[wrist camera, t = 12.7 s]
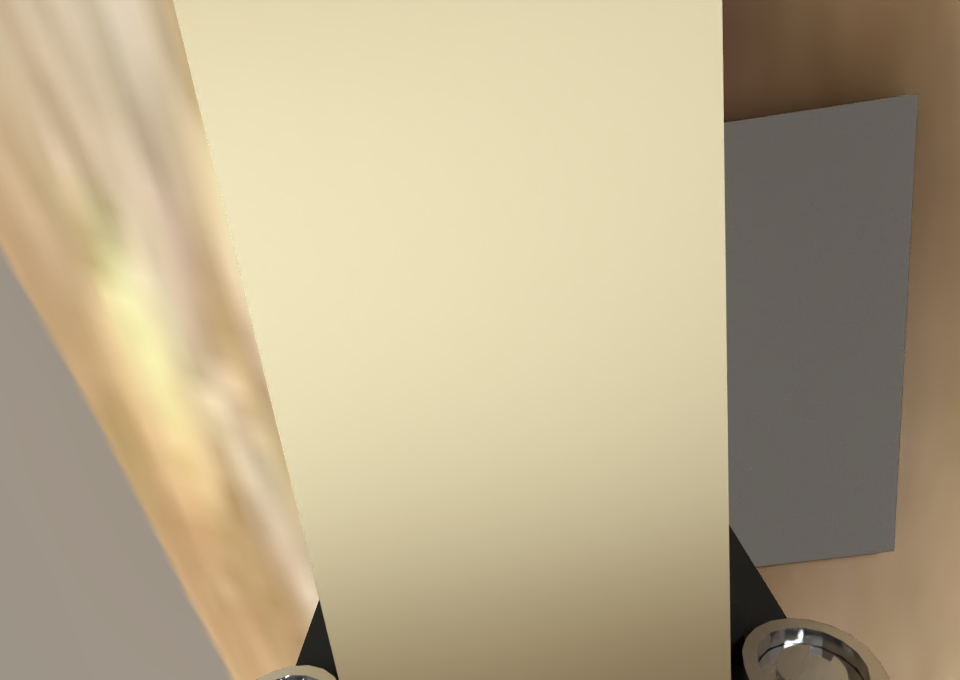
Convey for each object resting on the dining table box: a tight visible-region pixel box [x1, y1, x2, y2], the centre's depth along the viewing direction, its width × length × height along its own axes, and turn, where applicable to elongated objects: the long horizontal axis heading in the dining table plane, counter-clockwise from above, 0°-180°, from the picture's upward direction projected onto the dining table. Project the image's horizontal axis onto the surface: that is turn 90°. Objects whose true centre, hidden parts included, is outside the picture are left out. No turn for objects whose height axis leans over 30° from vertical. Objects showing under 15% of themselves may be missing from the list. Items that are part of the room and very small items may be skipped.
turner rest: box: [724, 94, 918, 567], centre depth 30 cm, size 22×10×1 cm, turn 8°
